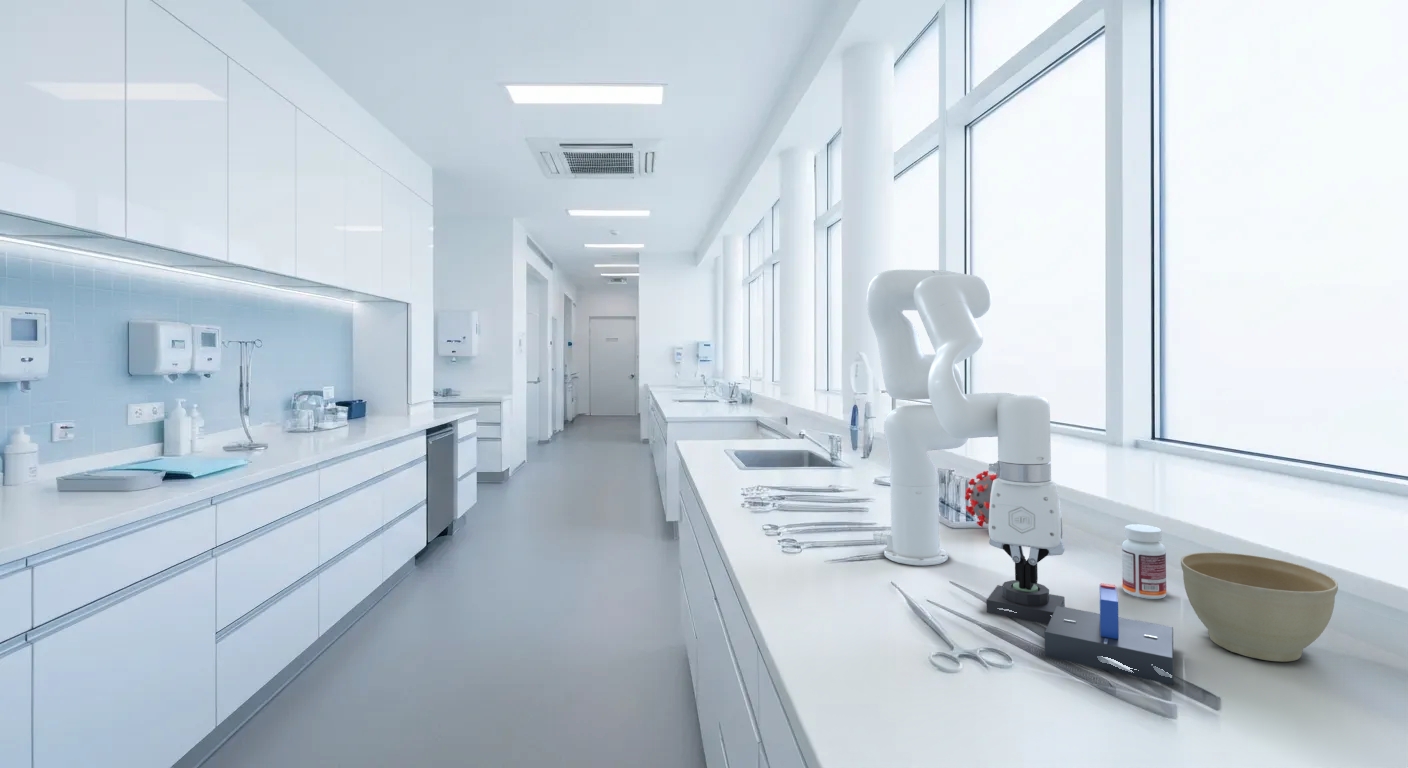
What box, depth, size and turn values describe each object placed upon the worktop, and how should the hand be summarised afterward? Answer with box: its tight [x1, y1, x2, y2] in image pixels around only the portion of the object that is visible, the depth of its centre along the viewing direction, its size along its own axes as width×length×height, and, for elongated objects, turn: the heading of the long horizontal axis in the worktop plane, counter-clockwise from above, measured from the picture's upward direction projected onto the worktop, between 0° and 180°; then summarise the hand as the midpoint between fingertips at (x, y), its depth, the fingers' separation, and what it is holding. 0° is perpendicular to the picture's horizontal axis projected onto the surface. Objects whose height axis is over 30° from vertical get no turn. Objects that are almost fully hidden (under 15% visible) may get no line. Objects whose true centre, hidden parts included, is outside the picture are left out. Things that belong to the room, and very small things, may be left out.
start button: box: [1013, 582, 1038, 592], centre depth 100 cm, size 4×4×2 cm
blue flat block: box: [1098, 582, 1119, 639], centre depth 85 cm, size 6×2×5 cm, turn 148°
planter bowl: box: [1180, 551, 1339, 663], centre depth 86 cm, size 16×16×11 cm
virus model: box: [964, 470, 999, 528], centre depth 147 cm, size 14×15×15 cm
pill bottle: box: [1121, 523, 1167, 600], centre depth 106 cm, size 6×6×11 cm
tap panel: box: [1044, 606, 1174, 686], centre depth 85 cm, size 14×11×4 cm
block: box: [985, 579, 1066, 626], centre depth 100 cm, size 10×8×4 cm
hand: (1026, 586), depth 100 cm, fingers closed
